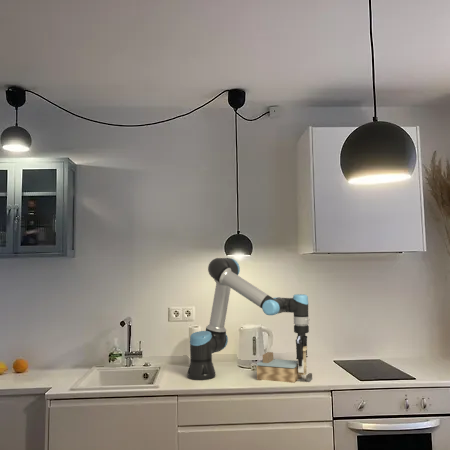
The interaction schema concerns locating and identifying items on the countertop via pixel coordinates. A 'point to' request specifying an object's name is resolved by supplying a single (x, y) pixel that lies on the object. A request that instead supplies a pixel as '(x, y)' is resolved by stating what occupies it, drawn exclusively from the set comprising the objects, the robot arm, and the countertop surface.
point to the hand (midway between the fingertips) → (302, 371)
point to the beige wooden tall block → (304, 360)
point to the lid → (276, 361)
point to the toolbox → (281, 374)
